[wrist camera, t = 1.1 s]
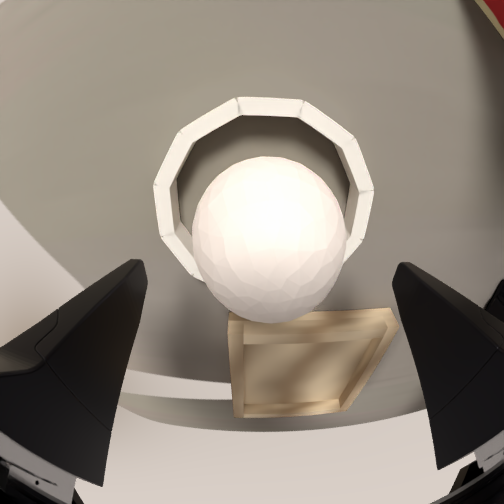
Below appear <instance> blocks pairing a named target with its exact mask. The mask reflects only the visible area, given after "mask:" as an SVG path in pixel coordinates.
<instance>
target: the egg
mask: <svg viewBox="0 0 504 504" xmlns="http://www.w3.org/2000/svg"><path fill="white" fill-rule="evenodd" d="M192 245H193V254H194V259H195V262H196V264H197V267H198V269H199V272H200V274H201V276H202V278H203V280H204V281H205V283H206V285H207V287H208V288H209V290H210V291H211V292H212V294H213V295H214V296H215V298H216V299H217V300H218V301H219V302H221V303H222V304H223V305H224V306H225V307H226V308H227V309H229V310H230V311H232V312H233V313H235V314H237V315H238V316H240V317H243V318H245V319H248V320H251V321H255V322H262V323H270V324H273V323H281V322H288V321H292V320H294V319H296V318H298V317H301V316H303V315H305V314H307V313H309V312H310V311H311V310H313V309H314V308H315V307H316V306H317V305H318V304H319V303H320V302H322V301H323V300H324V299H325V298H326V296H327V295H328V293H329V292H330V290H331V289H332V287H333V286H334V284H335V282H336V280H337V278H338V275H339V273H340V271H341V268H342V263H343V259H344V255H345V251H346V229H345V223H344V218H343V215H342V212H341V210H340V207H339V204H338V201H337V200H336V198H335V196H334V195H333V193H332V191H331V190H330V188H329V187H328V186H327V185H326V184H325V182H324V181H323V180H322V179H321V178H320V177H319V176H318V175H316V174H315V173H314V172H313V171H311V170H310V169H308V168H307V167H305V166H303V165H302V164H300V163H297V162H294V161H291V160H288V159H285V158H282V157H263V156H262V157H257V158H252V159H247V160H244V161H242V162H239V163H236V164H234V165H232V166H231V167H229V168H228V169H226V170H225V171H224V172H222V173H221V174H219V175H218V176H217V177H216V178H215V179H214V180H213V182H212V183H211V184H210V185H209V186H208V187H207V189H206V191H205V193H204V194H203V196H202V198H201V200H200V201H199V203H198V206H197V210H196V213H195V217H194V221H193V225H192Z"/></svg>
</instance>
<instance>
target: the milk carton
mask: <svg viewBox="0 0 504 504" xmlns="http://www.w3.org/2000/svg"><path fill="white" fill-rule="evenodd" d="M475 2H476V3H477V4H478V5H479V7H480V8H481V9H482V10H483V12H484V13H485V14H486V16H487V17H488V18H489V20H490V21H491V22H492V24H493V25H494V26H495V28H496V29H497V31H498V32H499V33H500V35H501V36H502V38H503V39H504V0H475Z"/></svg>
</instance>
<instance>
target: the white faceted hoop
mask: <svg viewBox="0 0 504 504" xmlns="http://www.w3.org/2000/svg"><path fill="white" fill-rule="evenodd" d="M240 115H264V116H284V117H297V118H298V119H300V120H301V121H303V122H304V123H306V124H307V125H309V126H310V127H312V128H313V129H315V130H316V131H318V132H319V133H320V134H322V135H323V136H325V137H326V138H327V139H329V140H330V141H332V142H333V143H334V146H335V148H336V150H337V152H338V155H339V157H340V160H341V162H342V164H343V167H344V169H345V172H346V174H347V177H348V179H349V182H350V187H349V194H348V199H347V205H346V211H345V216H344V223H345V229H346V251H345V255H344V259H343V263H344V262H345V261H346V260H347V259H348V258H349V256H350V255H351V254H352V253H353V252H354V251H355V249H356V248H357V247H358V246H359V245H360V244H361V242H362V239H364V236H365V232H366V228H367V223H368V219H369V214H370V210H371V205H372V200H373V195H374V191H373V189H374V187H373V184H372V181H371V178H370V175H369V172H368V170H367V167H366V164H365V161H364V159H363V156H362V153H361V151H360V148H359V145H358V143H357V140H356V139H355V138H354V136H353V135H352V134H350V133H349V132H348V131H346V130H345V129H344V128H343V127H341V126H340V125H339V124H337V123H336V122H335V121H333V120H332V119H331V118H329V117H328V116H326V115H325V114H324V113H322V112H321V111H319V110H318V109H316V108H315V107H314V106H312V105H311V104H309V103H308V102H306V101H303V100H297V99H283V98H264V97H238V100H237V98H233V99H231V100H230V101H228V102H226V103H224V104H222V105H221V106H219V107H217V108H215V109H214V110H212V111H210V112H208V113H207V114H205V115H203V116H202V117H200V118H198V119H197V120H195V121H193V122H192V123H190V124H189V125H187V126H185V127H184V128H182V129H181V130H180V131H179V132H178V133H177V135H176V137H175V139H174V141H173V143H172V145H171V147H170V149H169V151H168V153H167V155H166V157H165V159H164V161H163V164H162V166H161V168H160V170H159V172H158V174H157V177H156V179H155V181H154V185H153V188H154V197H155V204H156V212H157V219H158V226H159V232H160V236H162V237H161V239H162V240H163V241H164V242H165V244H166V245H167V246H168V247H169V249H170V250H171V251H172V252H173V254H174V255H175V256H176V258H177V259H178V260H179V261H180V262H181V264H182V265H183V266H184V267H185V269H186V270H187V271H188V272H189V274H190V275H192V274H193V277H195V278H197V279H199V280H201V281H203V282H205V281H204V280H203V278H202V276H201V274H200V272H199V269H198V267H197V264H196V262H195V259H194V254H193V245H192V236H191V235H190V233H189V232H188V230H187V229H186V228H185V226H184V225H183V224H182V222H181V221H180V212H179V202H178V191H177V177H178V175H179V173H180V171H181V169H182V167H183V165H184V163H185V161H186V159H187V157H188V155H189V154H190V152H191V150H192V148H193V146H194V144H195V142H196V141H197V140H198V139H200V138H201V137H203V136H205V135H206V134H208V133H210V132H211V131H213V130H215V129H217V128H218V127H220V126H222V125H224V124H225V123H227V122H229V121H231V120H233V119H234V118H236V117H238V116H240ZM343 263H342V264H343Z"/></svg>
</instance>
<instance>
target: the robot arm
mask: <svg viewBox="0 0 504 504" xmlns="http://www.w3.org/2000/svg"><path fill="white" fill-rule="evenodd" d="M147 285H148V280H147V275H146V271H145V267H144V263H143V261H142V260H141V259H130V260H129V261H127V262H126V263H124V264H123V265H121V266H119V267H118V268H116V269H115V270H113V271H112V272H110V273H109V274H107V275H106V276H104V277H103V278H101V279H100V280H98V281H97V282H95V283H94V284H92V285H91V286H89V287H88V288H86V289H85V290H84V291H82V292H81V293H79V294H78V295H76V296H75V297H74V298H72V299H71V300H69V301H68V302H66V303H65V304H64V305H62V306H61V307H59V310H58V309H56V310H55V311H54V312H52V313H51V314H50V315H48V316H47V317H46V318H44V319H43V320H41V321H40V322H39V323H37V324H35V325H34V326H32V327H31V328H29V329H28V330H26V331H25V332H23V333H22V334H20V335H19V336H17V337H16V338H14V339H13V340H11V341H10V342H8V343H7V344H5V345H4V346H2V347H0V504H84V503H83V501H82V500H81V498H80V497H79V495H78V493H77V492H76V490H75V488H74V486H75V481H76V477H77V478H79V479H82V480H84V481H87V482H90V483H92V484H95V485H98V486H101V487H102V486H103V482H104V475H105V468H106V461H107V455H108V449H109V444H110V438H111V431H112V427H113V422H114V418H115V413H116V409H117V404H118V400H119V396H120V392H121V387H122V383H123V380H124V375H125V372H126V368H127V364H128V361H129V357H130V354H131V350H132V347H133V343H134V340H135V337H136V333H137V330H138V327H139V323H140V319H141V314H142V309H143V304H144V299H145V294H146V290H147ZM392 287H393V291H394V294H395V298H396V302H397V306H398V310H399V314H400V317H401V321H402V324H403V327H404V330H405V333H406V336H407V339H408V342H409V345H410V348H411V352H412V355H413V358H414V362H415V365H416V368H417V372H418V376H419V379H420V383H421V387H422V391H423V395H424V399H425V403H426V408H427V412H428V417H429V422H430V427H431V433H432V438H433V444H434V450H435V457H436V465H437V469H438V470H440V469H442V468H444V467H446V466H448V465H450V464H452V463H454V462H456V461H458V460H460V459H462V458H463V457H465V456H467V455H469V454H470V453H472V452H475V456H476V460H475V461H473V462H472V463H470V464H469V465H467V466H465V467H463V468H462V469H460V471H459V473H458V476H457V478H456V480H455V482H454V485H453V486H452V489H451V491H450V493H449V494H448V495H447V496H444V497H442V498H440V499H439V500H437V501H435V502H432V503H430V504H504V280H503V281H502V282H501V284H500V285H499V287H498V289H497V291H496V293H495V295H494V297H493V298H492V300H491V302H490V304H489V305H488V307H487V309H486V310H484V309H482V308H481V307H479V306H478V305H476V304H475V303H473V302H472V301H471V300H469V299H468V298H466V297H465V296H463V295H462V294H460V293H458V292H457V291H455V290H454V289H452V288H451V287H449V286H448V285H446V284H444V283H443V282H441V281H440V280H438V279H436V278H435V277H433V276H432V275H430V274H428V273H427V272H425V271H423V270H422V269H420V268H418V267H417V266H415V265H413V264H412V263H410V262H401V263H399V265H398V267H397V270H396V272H395V275H394V278H393V281H392Z"/></svg>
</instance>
